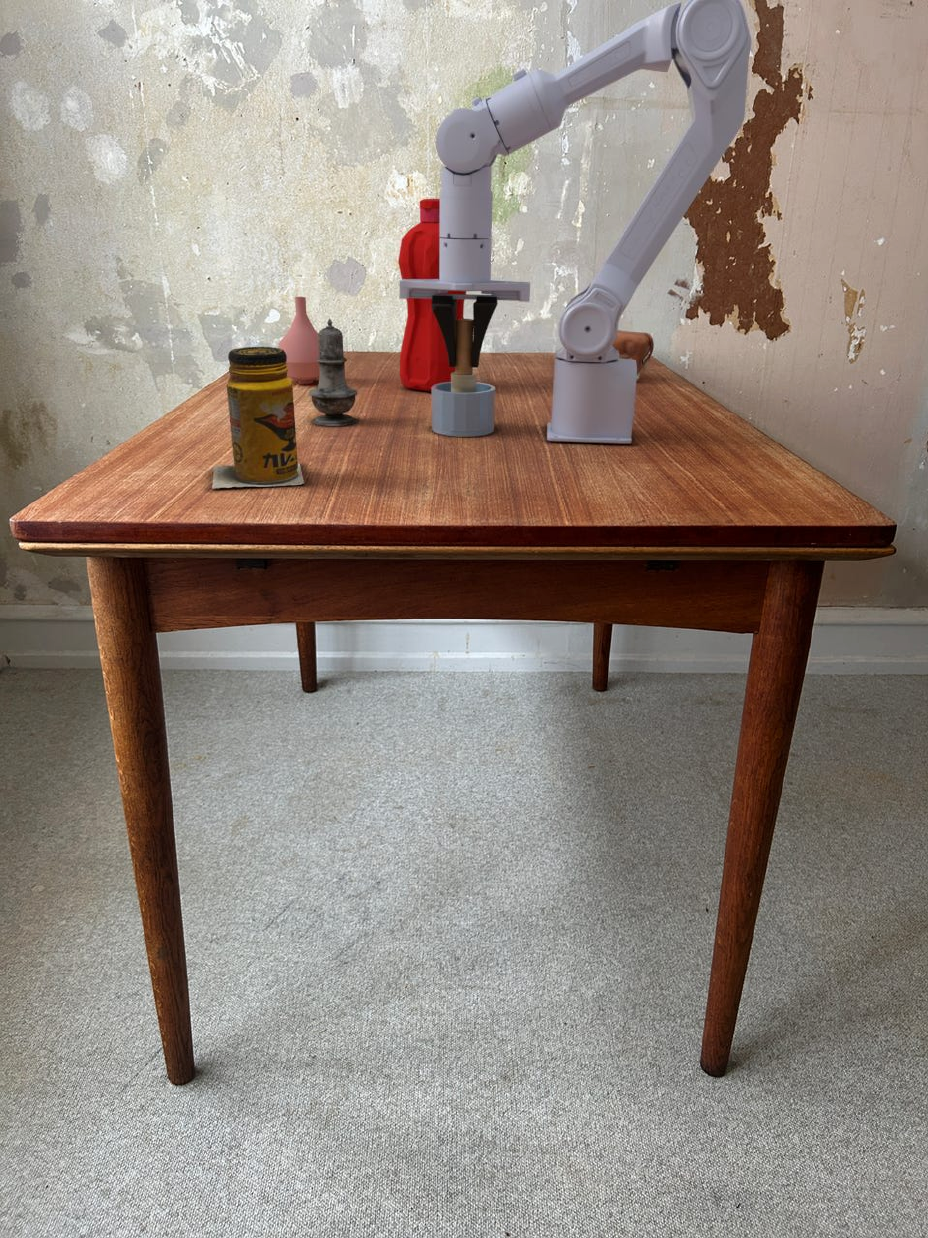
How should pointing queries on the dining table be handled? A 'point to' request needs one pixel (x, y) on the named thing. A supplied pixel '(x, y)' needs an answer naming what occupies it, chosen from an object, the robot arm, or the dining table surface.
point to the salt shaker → (332, 381)
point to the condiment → (260, 421)
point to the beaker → (463, 411)
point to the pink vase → (301, 346)
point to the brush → (464, 358)
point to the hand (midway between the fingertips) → (463, 365)
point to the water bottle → (424, 305)
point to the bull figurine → (634, 348)
